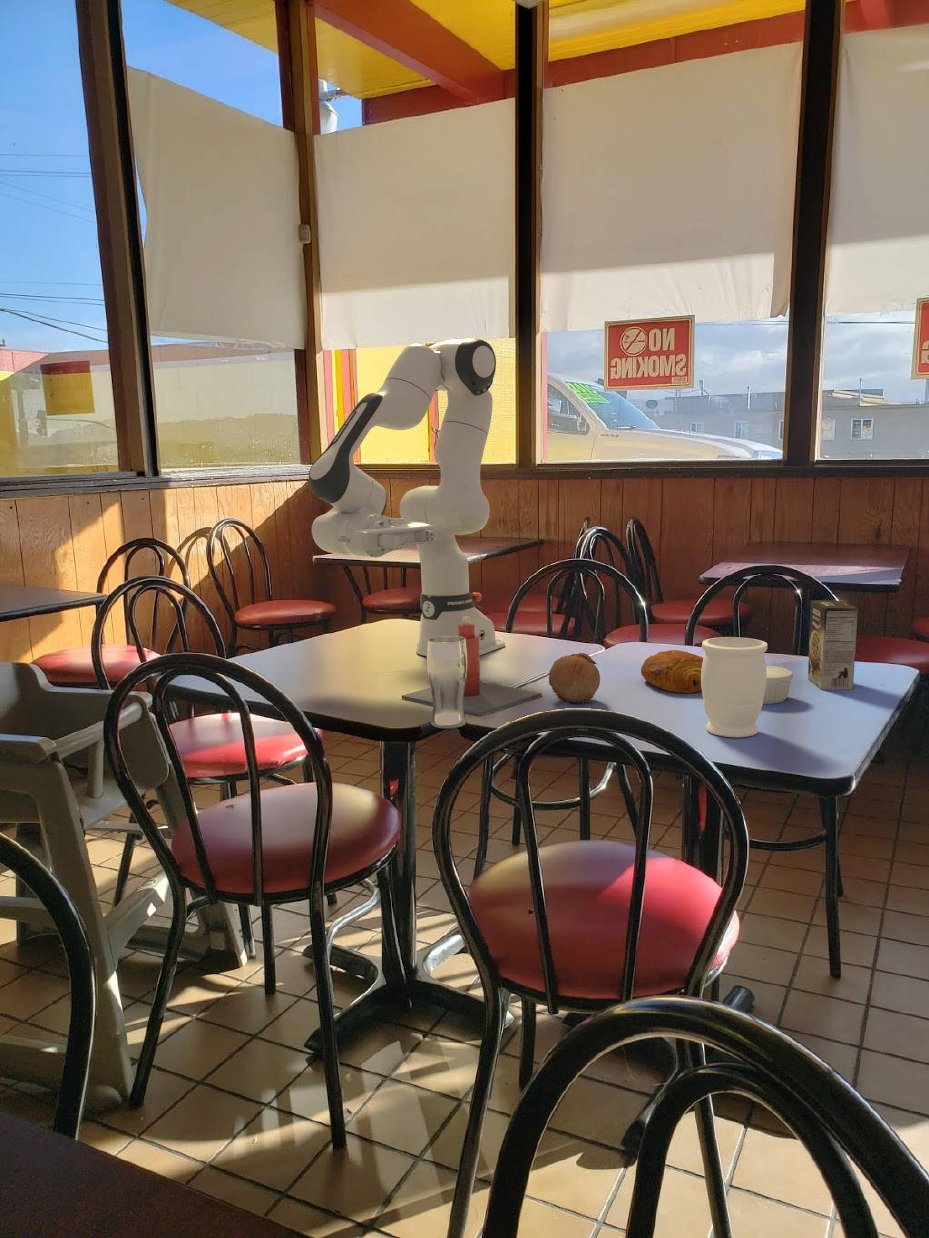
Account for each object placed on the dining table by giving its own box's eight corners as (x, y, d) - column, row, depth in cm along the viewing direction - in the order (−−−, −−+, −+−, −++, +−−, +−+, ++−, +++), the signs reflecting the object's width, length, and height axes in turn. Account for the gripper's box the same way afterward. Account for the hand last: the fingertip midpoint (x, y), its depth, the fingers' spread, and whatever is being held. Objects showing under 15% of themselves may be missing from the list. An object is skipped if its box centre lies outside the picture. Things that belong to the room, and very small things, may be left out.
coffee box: (806, 679, 192) (809, 600, 189) (838, 678, 192) (842, 599, 189) (820, 690, 183) (823, 607, 180) (854, 689, 183) (858, 606, 180)
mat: (464, 681, 196) (464, 678, 196) (541, 696, 183) (541, 693, 183) (401, 698, 183) (401, 695, 183) (479, 715, 170) (479, 712, 170)
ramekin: (716, 697, 180) (717, 670, 179) (753, 688, 186) (754, 661, 185) (766, 709, 171) (767, 680, 170) (804, 699, 177) (805, 671, 176)
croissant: (662, 707, 182) (664, 668, 179) (631, 678, 196) (632, 641, 194) (731, 700, 184) (734, 661, 182) (696, 671, 199) (698, 635, 196)
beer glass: (464, 730, 161) (462, 643, 159) (424, 728, 163) (421, 642, 160) (472, 718, 168) (470, 635, 166) (433, 717, 170) (431, 634, 167)
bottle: (466, 689, 187) (465, 613, 184) (485, 692, 184) (483, 616, 181) (450, 693, 184) (448, 617, 181) (468, 697, 180) (467, 619, 178)
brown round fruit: (587, 712, 182) (606, 663, 183) (590, 712, 173) (610, 660, 174) (540, 693, 183) (559, 645, 184) (541, 692, 174) (561, 641, 174)
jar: (701, 720, 164) (703, 635, 162) (764, 724, 161) (767, 637, 159) (698, 738, 154) (700, 647, 152) (765, 742, 151) (768, 650, 149)
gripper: (331, 523, 188) (379, 526, 179) (406, 517, 203) (453, 519, 193) (333, 555, 189) (380, 559, 180) (406, 546, 204) (454, 550, 195)
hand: (419, 538), depth 187 cm, fingers open, 8 cm apart
